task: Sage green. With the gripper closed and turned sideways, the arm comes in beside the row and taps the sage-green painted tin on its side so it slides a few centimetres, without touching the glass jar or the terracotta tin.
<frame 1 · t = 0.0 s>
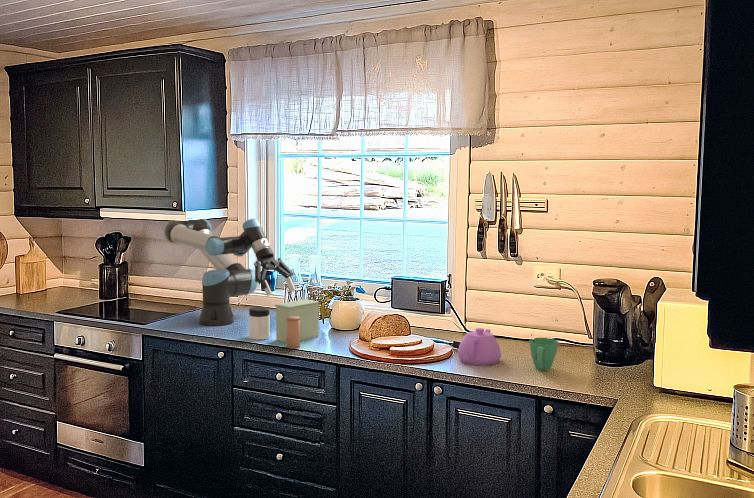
hand: (281, 292, 300), 15 cm above the worktop, tool tilted 35°, fingers open, 13 cm apart
mug: (541, 371, 241), on the worktop
green tin: (297, 338, 283), on the worktop
teapot: (479, 361, 253), on the worktop
jar: (259, 338, 284), on the worktop
rust tin: (293, 347, 269), on the worktop
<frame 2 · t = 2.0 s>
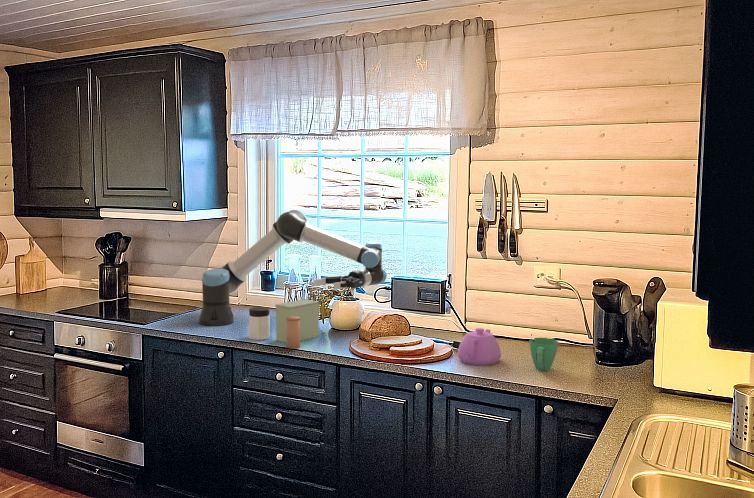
hand: (323, 284, 292), 20 cm above the worktop, tool horizontal, fingers open, 11 cm apart
nothing on the worktop moved.
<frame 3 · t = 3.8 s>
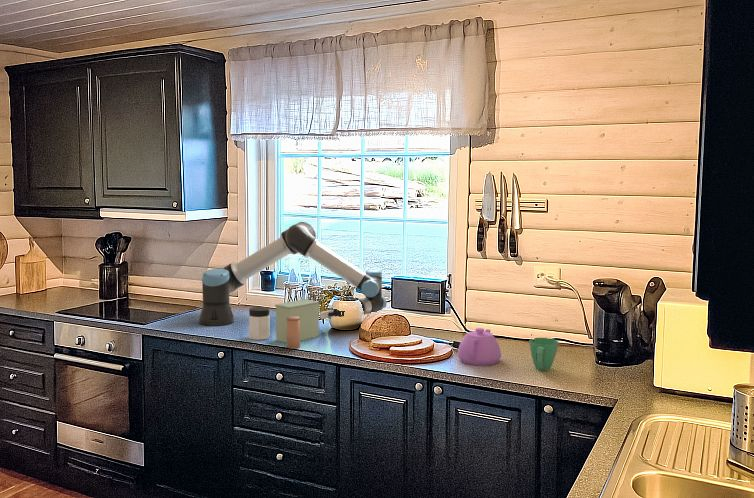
hand: (321, 315, 293), 7 cm above the worktop, tool horizontal, fingers closed
nothing on the worktop moved.
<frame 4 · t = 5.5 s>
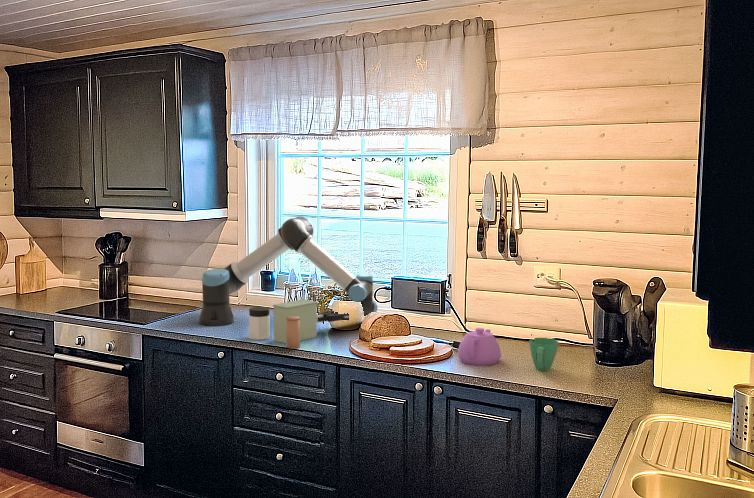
hand: (310, 320, 288), 6 cm above the worktop, tool horizontal, fingers closed
green tin: (295, 338, 282), on the worktop, touching gripper
everything else where it was.
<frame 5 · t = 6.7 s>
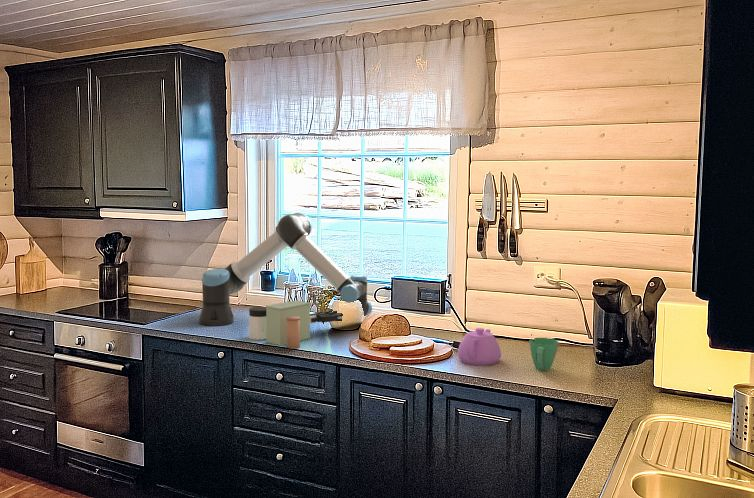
hand: (303, 321, 285), 6 cm above the worktop, tool horizontal, fingers closed
green tin: (288, 340, 280), on the worktop, touching gripper
everything else where it was.
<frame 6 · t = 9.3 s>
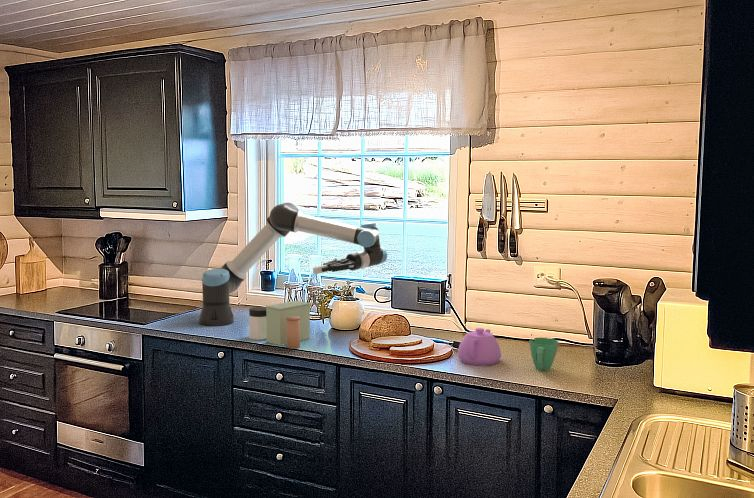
hand: (314, 270, 293), 26 cm above the worktop, tool horizontal, fingers closed
green tin: (288, 340, 280), on the worktop
everything else where it was.
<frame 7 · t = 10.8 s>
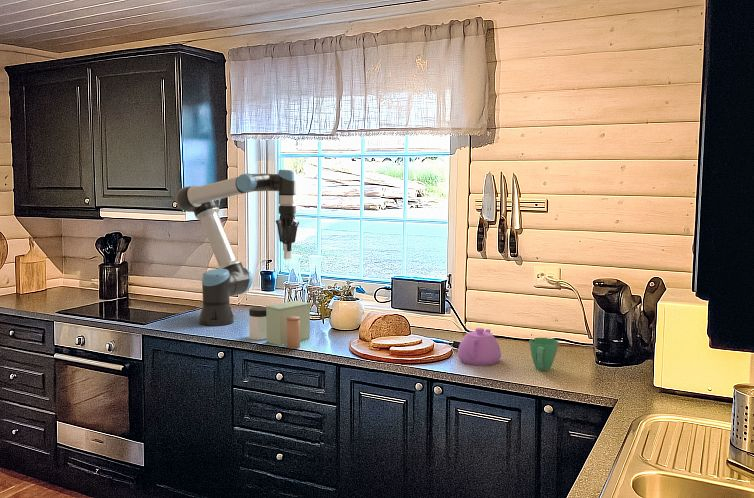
hand: (287, 258, 306), 29 cm above the worktop, tool pointing down, fingers closed
nothing on the worktop moved.
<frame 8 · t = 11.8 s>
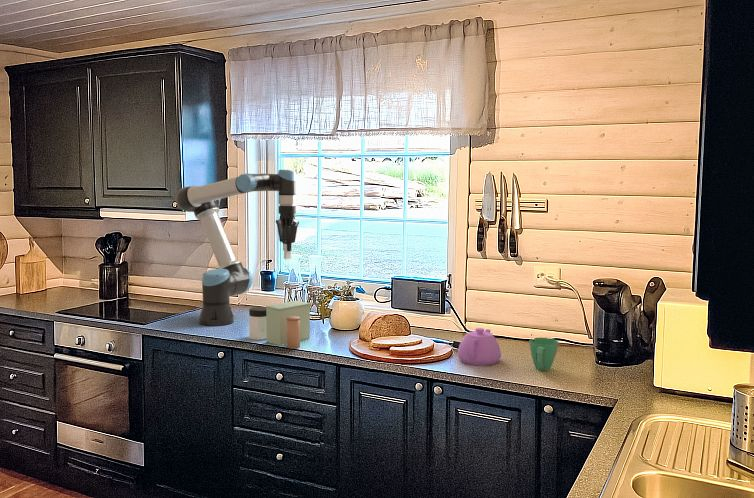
hand: (287, 258, 306), 29 cm above the worktop, tool pointing down, fingers closed
nothing on the worktop moved.
at the end: green tin inside the target area (1.0 cm from its centre), on the worktop; jar moved 0.2 cm from its start; rust tin moved 0.0 cm from its start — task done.
